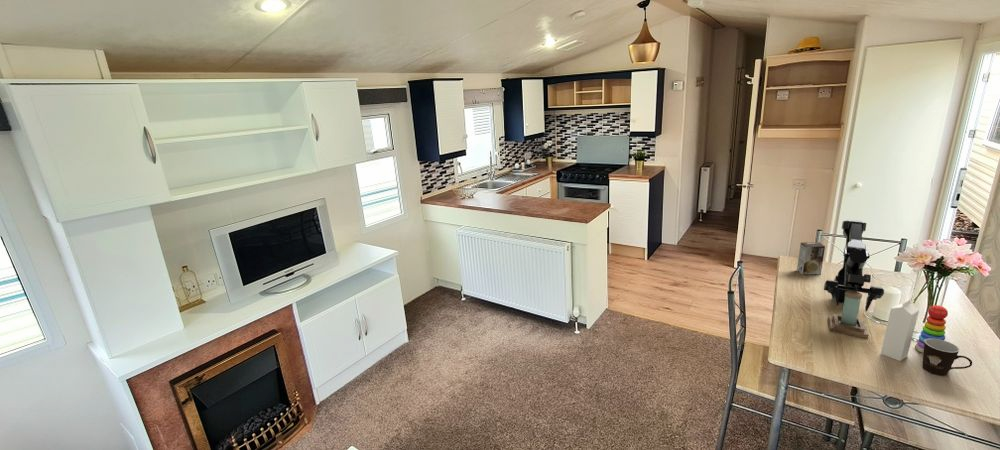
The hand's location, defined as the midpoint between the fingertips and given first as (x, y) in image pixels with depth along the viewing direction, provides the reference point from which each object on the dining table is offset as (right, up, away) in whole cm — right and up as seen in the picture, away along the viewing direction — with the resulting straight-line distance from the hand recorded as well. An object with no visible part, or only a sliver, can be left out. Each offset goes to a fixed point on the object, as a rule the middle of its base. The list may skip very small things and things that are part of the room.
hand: (851, 308), depth 178 cm
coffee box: (+22, +8, +56) cm, 61 cm away
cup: (+1, -7, +3) cm, 8 cm away
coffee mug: (+10, -18, -26) cm, 33 cm away
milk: (+4, -15, -15) cm, 21 cm away
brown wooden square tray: (+1, -9, +4) cm, 10 cm away
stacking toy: (+17, -14, -14) cm, 26 cm away
